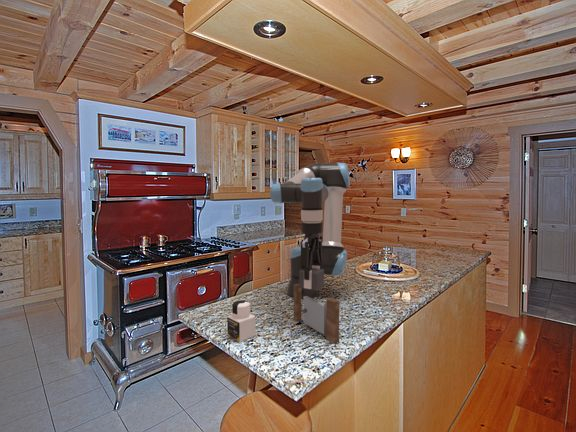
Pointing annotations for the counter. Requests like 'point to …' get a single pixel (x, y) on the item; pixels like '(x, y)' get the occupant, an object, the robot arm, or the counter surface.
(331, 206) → the robot arm
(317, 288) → the dark grey block
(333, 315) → the doorframe
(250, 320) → the medicine bottle
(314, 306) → the door
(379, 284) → the counter surface
